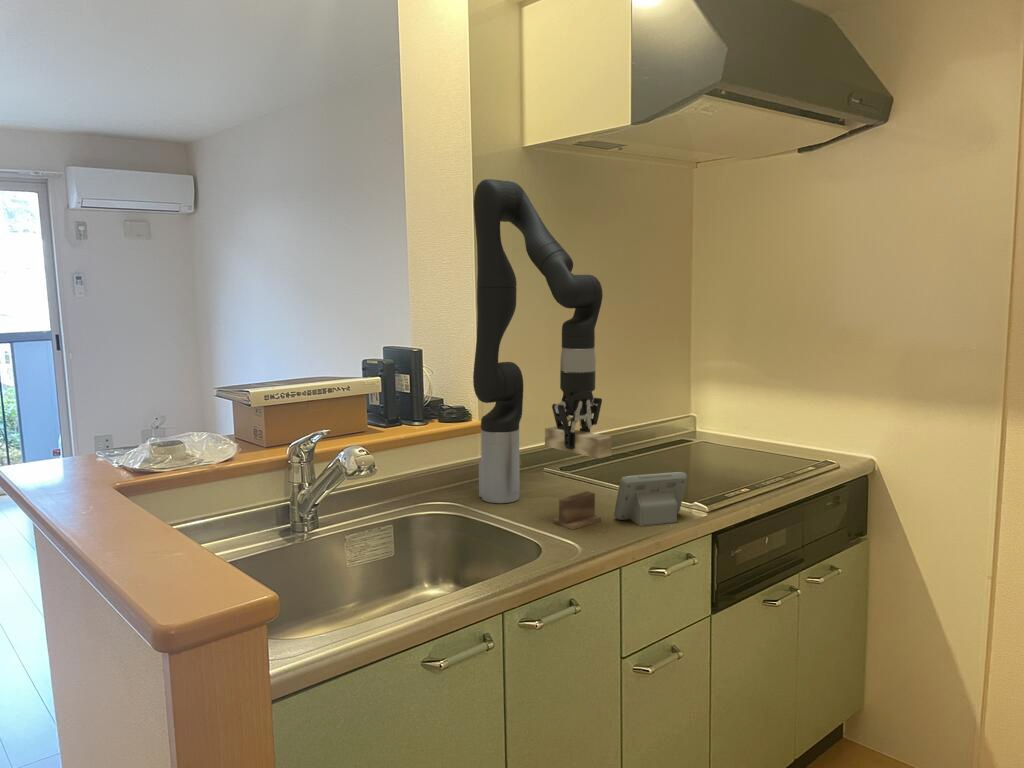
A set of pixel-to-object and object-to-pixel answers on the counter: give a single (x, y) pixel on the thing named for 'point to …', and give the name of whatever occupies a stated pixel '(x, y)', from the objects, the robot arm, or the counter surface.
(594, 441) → the beige long bar
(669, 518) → the digital clock
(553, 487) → the counter surface
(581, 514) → the walnut ridge
